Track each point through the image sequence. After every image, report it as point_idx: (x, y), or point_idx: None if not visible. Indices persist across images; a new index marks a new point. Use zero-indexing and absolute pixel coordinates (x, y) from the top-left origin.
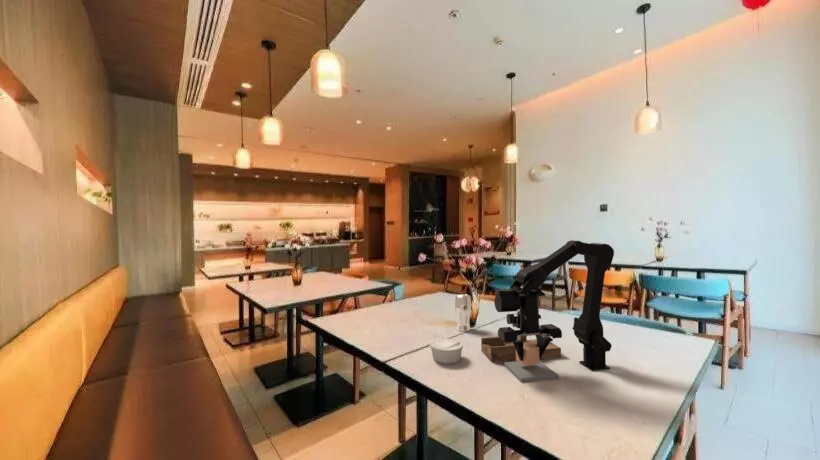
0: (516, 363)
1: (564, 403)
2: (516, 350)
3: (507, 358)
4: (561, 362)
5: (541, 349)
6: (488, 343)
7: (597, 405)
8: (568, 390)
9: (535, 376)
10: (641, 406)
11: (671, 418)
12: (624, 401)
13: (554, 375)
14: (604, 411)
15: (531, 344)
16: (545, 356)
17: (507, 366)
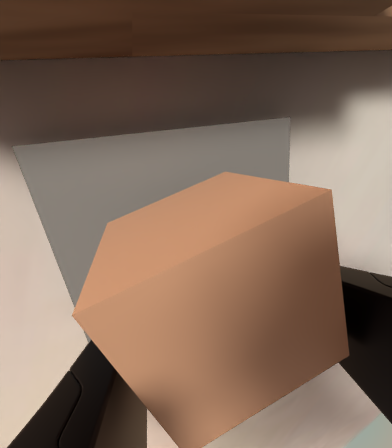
0: (123, 175)
1: (210, 442)
2: (79, 363)
3: (61, 47)
4: (379, 131)
5: (342, 361)
6: None
7: (284, 423)
8: None
9: None
10: (363, 398)
11: (372, 421)
12: (350, 389)
13: None
14: (282, 441)
15: (327, 276)
16: (358, 45)
17: (42, 217)
